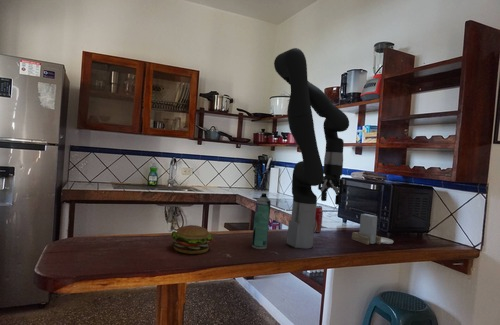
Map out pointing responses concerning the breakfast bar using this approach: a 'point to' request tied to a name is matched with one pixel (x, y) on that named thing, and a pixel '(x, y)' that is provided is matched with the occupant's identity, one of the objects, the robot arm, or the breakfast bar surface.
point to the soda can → (318, 219)
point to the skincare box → (368, 227)
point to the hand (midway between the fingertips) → (330, 202)
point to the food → (192, 239)
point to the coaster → (386, 240)
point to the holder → (364, 238)
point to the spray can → (261, 222)
